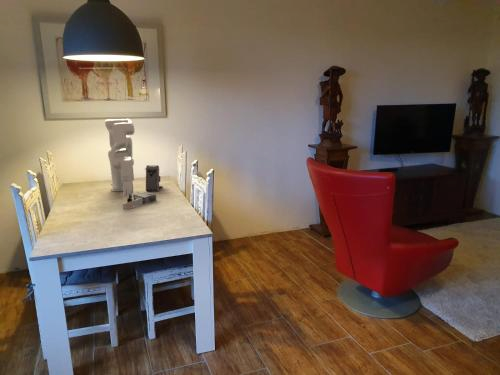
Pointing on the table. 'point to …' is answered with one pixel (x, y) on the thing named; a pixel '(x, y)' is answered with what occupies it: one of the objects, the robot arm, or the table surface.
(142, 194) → the housing
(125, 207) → the side door
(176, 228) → the table surface
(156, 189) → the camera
